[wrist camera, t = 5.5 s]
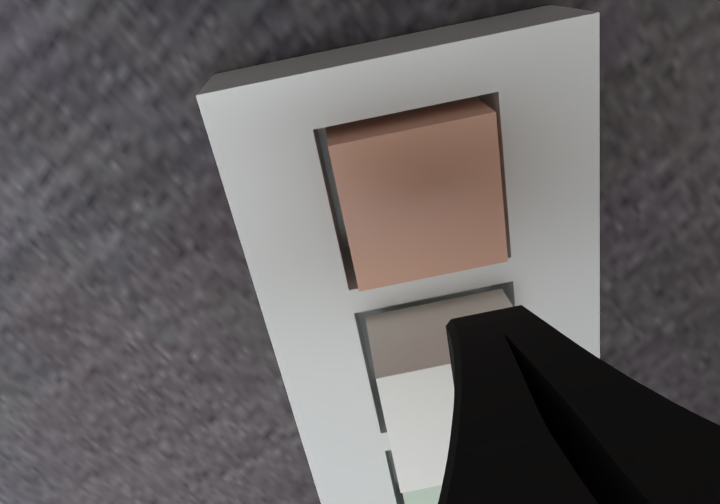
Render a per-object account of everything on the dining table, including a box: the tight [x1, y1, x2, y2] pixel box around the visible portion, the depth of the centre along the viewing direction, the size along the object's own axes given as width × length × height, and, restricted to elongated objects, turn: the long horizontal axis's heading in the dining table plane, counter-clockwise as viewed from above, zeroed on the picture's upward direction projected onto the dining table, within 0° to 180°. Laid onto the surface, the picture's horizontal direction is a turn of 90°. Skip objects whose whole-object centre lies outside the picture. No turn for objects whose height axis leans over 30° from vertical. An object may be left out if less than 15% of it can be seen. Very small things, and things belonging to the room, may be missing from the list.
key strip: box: [196, 5, 600, 504], centre depth 21 cm, size 10×24×3 cm, turn 11°
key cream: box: [365, 289, 513, 493], centre depth 17 cm, size 4×4×3 cm
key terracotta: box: [325, 96, 508, 292], centre depth 17 cm, size 4×4×3 cm
